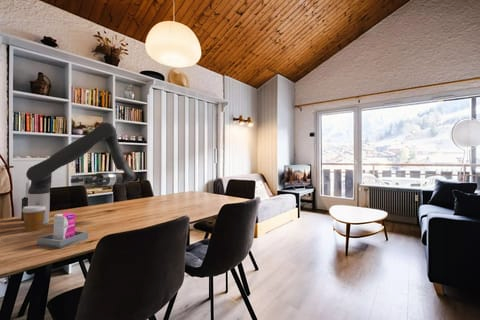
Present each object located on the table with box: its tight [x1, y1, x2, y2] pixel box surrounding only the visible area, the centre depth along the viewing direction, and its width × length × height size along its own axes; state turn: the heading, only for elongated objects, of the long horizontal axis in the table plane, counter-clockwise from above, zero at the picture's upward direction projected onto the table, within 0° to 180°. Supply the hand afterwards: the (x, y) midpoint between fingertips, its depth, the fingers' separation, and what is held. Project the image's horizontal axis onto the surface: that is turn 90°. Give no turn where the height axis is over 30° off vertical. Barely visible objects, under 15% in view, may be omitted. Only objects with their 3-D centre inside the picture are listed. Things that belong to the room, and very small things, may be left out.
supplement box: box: [52, 212, 77, 240], centre depth 103 cm, size 6×6×12 cm
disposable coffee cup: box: [21, 205, 46, 233], centre depth 118 cm, size 10×10×12 cm
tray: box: [36, 229, 89, 249], centre depth 103 cm, size 13×13×3 cm
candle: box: [20, 178, 31, 221], centre depth 137 cm, size 5×5×25 cm
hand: (78, 181), depth 113 cm, fingers open, 8 cm apart
